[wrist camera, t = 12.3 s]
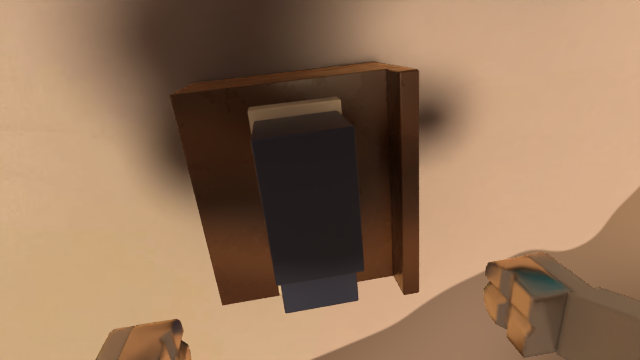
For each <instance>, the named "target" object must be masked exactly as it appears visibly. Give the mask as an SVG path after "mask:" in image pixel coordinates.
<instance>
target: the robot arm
mask: <svg viewBox="0 0 640 360" xmlns="http://www.w3.org/2000/svg"><path fill="white" fill-rule="evenodd" d="M485 276H486V277H487V278H488V279H489V280H490V282H489V283H488V284H487V286H486V287H485V288H484V302H485V306H486V310H487V311H488V313H489V315H490V317H491V318H492V320H493V321H494V322H495V323H496V324H497V325H499V326H501V327H503V328H505V329H507V338H508V339H509V340H510V342H511V343H512V344H513V345H514V346H515V348H516V349H517V350H518V351H519V353H520V354H521V355H522V356H523V357H524V358H525V357H531V356H537V355H542V354H548V353H554V352H557V354H558V355H559V356H561V357H563V358H564V359H566V360H640V300H637V299H634V298H631V297H628V296H625V295H622V294H619V293H616V292H613V291H609V290H607V289H604V288H601V287H596V288H593V287H591V286H590V285H589V284H587V283H586V282H585V281H583V280H582V279H581V278H579V277H578V276H577V275H575V274H574V273H573V272H571V271H570V270H569V269H567V268H566V267H564V266H563V265H562V264H561V263H559V262H558V261H557V260H555V259H554V258H553V257H551V256H550V255H549V254H547V253H544V252H538V253H533V254H528V255H524V256H521V257H515V258H510V259H505V260H499V261H494V262H489V263H488V265H487V266H486V272H485ZM183 332H184V330H183V328H182V325H181V322H180V321H179V320H178V319H173V320H166V321H160V322H154V323H147V324H141V325H136V326H130V327H124V328H118V329H114V330H113V331H112V332H110V333H109V335H108V337H107V339H106V341H105V343H104V344H103V346H102V348H101V350H100V352H99V354H98V356H97V358H96V360H191V353H190V350H189V346H188V344H186V343H185V342H183V341H182V340H181V339H182V336H183Z"/></svg>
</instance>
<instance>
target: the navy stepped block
mask: <svg viewBox="0 0 640 360" xmlns="http://www.w3.org/2000/svg"><path fill="white" fill-rule="evenodd" d="M248 117H249V123H250V129H251V134H252V136H251V147H252V153H253V159H254V164H255V170H256V175H257V181H258V187H259V192H260V198H261V204H262V209H263V215H264V221H265V226H266V232H267V237H268V243H269V249H270V254H271V260H272V266H273V271H274V277H275V283H276V285H277V286H278V289H279V294H280V295H282V297H283V302H284V308H285V313H291V312H297V311H303V310H308V309H314V308H319V307H325V306H331V305H336V304H342V303H347V302H353V301H358V287H357V274H356V272H362V271H364V255H363V240H362V225H361V210H360V196H359V181H358V166H357V151H356V136H355V127H354V126H353V125H352V124H351V123H350V122H349V121H348V120H347V119H346V118H345V117H344V116H343V115H342V108H341V100H340V99H339V98H338V97H336V96H335V97H327V98H319V99H311V100H303V101H295V102H287V103H279V104H271V105H263V106H255V107H249V109H248Z"/></svg>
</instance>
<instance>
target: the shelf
mask: <svg viewBox="0 0 640 360" xmlns="http://www.w3.org/2000/svg"><path fill="white" fill-rule="evenodd" d="M335 96H336V97H338V98H339V99H340V100H341V108H342V115H343V116H344V117H345V118H346V119H347V120H348V121H349V122H350V123H351V124H352V125H353V126H354V127H355V136H356V151H357V166H358V181H359V196H360V210H361V225H362V240H363V255H364V271H362V272H356V274H357V282H359V281H365V280H371V279H376V278H382V277H388V276H394V278H395V280H396V281H397V283H398V285H399V287H400V289H401V291H402V292H403V294H404V295H407V294H413V293H418V292H419V71H418V69H412V68H407V67H402V66H395V65H389V64H383V63H377V62H368V63H360V64H351V65H343V66H334V67H326V68H317V69H309V70H300V71H292V72H283V73H274V74H266V75H257V76H249V77H240V78H232V79H223V80H215V81H206V82H198V83H192V84H190V85H188V86H186V87H184V88H182V89H181V90H179V91H177V92H174V93H173V94H171V95H170V98H171V102H172V106H173V110H174V114H175V118H176V122H177V126H178V130H179V134H180V138H181V142H182V146H183V150H184V154H185V158H186V162H187V166H188V170H189V174H190V178H191V182H192V186H193V190H194V194H195V198H196V202H197V206H198V210H199V214H200V218H201V222H202V226H203V230H204V234H205V238H206V242H207V246H208V250H209V254H210V258H211V262H212V266H213V270H214V274H215V278H216V282H217V286H218V290H219V294H220V298H221V302H222V305H228V304H233V303H239V302H245V301H250V300H256V299H262V298H268V297H273V296H279V295H280V294H279V289H278V286H277V285H276V283H275V277H274V271H273V266H272V260H271V254H270V249H269V243H268V237H267V232H266V226H265V221H264V215H263V209H262V204H261V198H260V192H259V187H258V181H257V175H256V170H255V164H254V159H253V153H252V147H251V136H252V134H251V129H250V123H249V117H248V109H249V107H255V106H263V105H271V104H279V103H287V102H295V101H303V100H311V99H319V98H327V97H335Z"/></svg>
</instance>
